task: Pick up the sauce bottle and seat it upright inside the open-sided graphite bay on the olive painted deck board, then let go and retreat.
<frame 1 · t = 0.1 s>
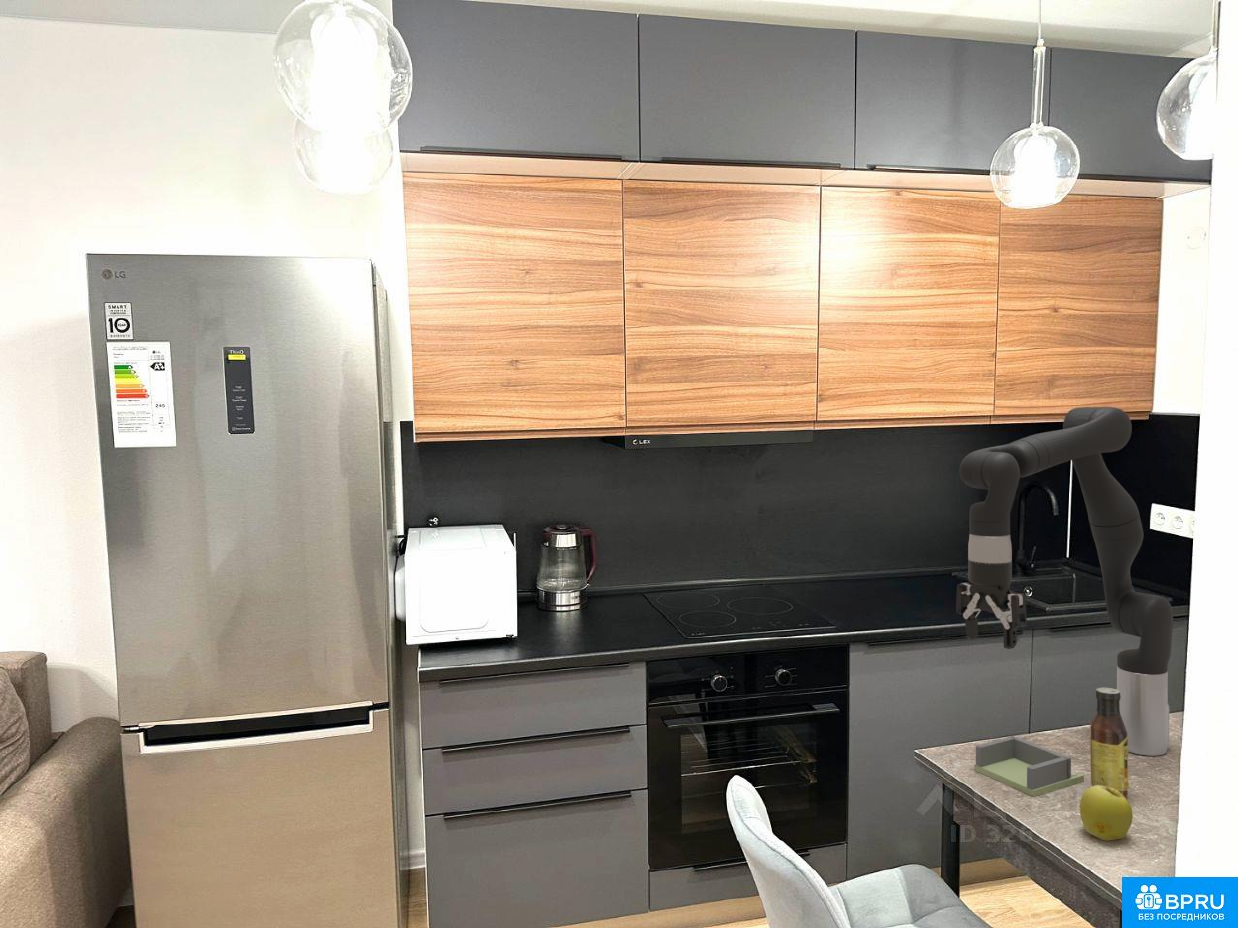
hand: (990, 642, 166), 29 cm above the table, fingers open, 8 cm apart
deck: (1028, 775, 175), on the table
apple: (1105, 836, 151), on the table
sauce bottle: (1109, 794, 166), on the table
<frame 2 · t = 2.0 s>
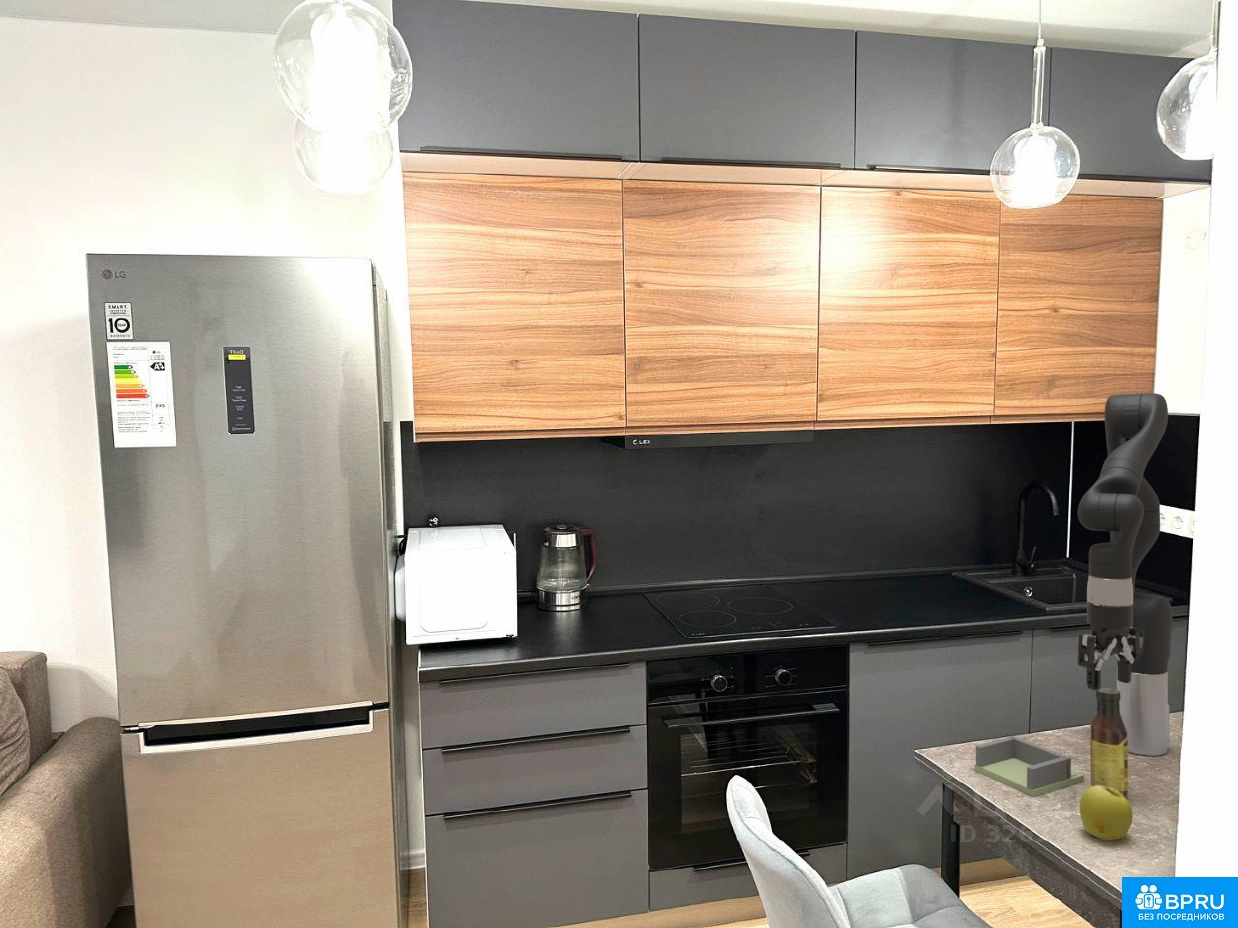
hand: (1109, 685, 165), 21 cm above the table, fingers open, 8 cm apart
nothing on the table moved.
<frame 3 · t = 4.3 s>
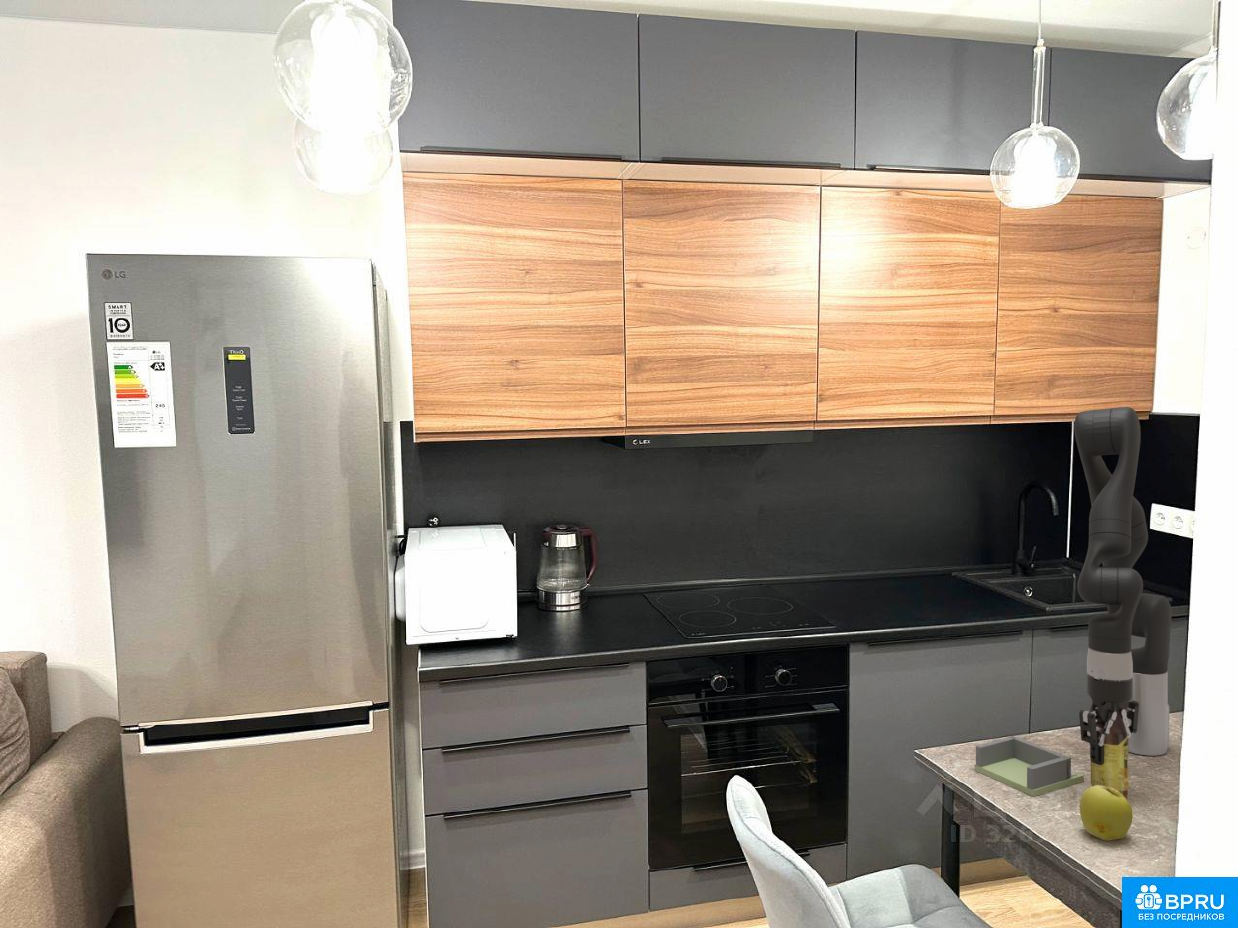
hand: (1109, 759, 166), 7 cm above the table, fingers closed on sauce bottle, 6 cm apart
sauce bottle: (1109, 794, 166), on the table, touching gripper
everything else where it was.
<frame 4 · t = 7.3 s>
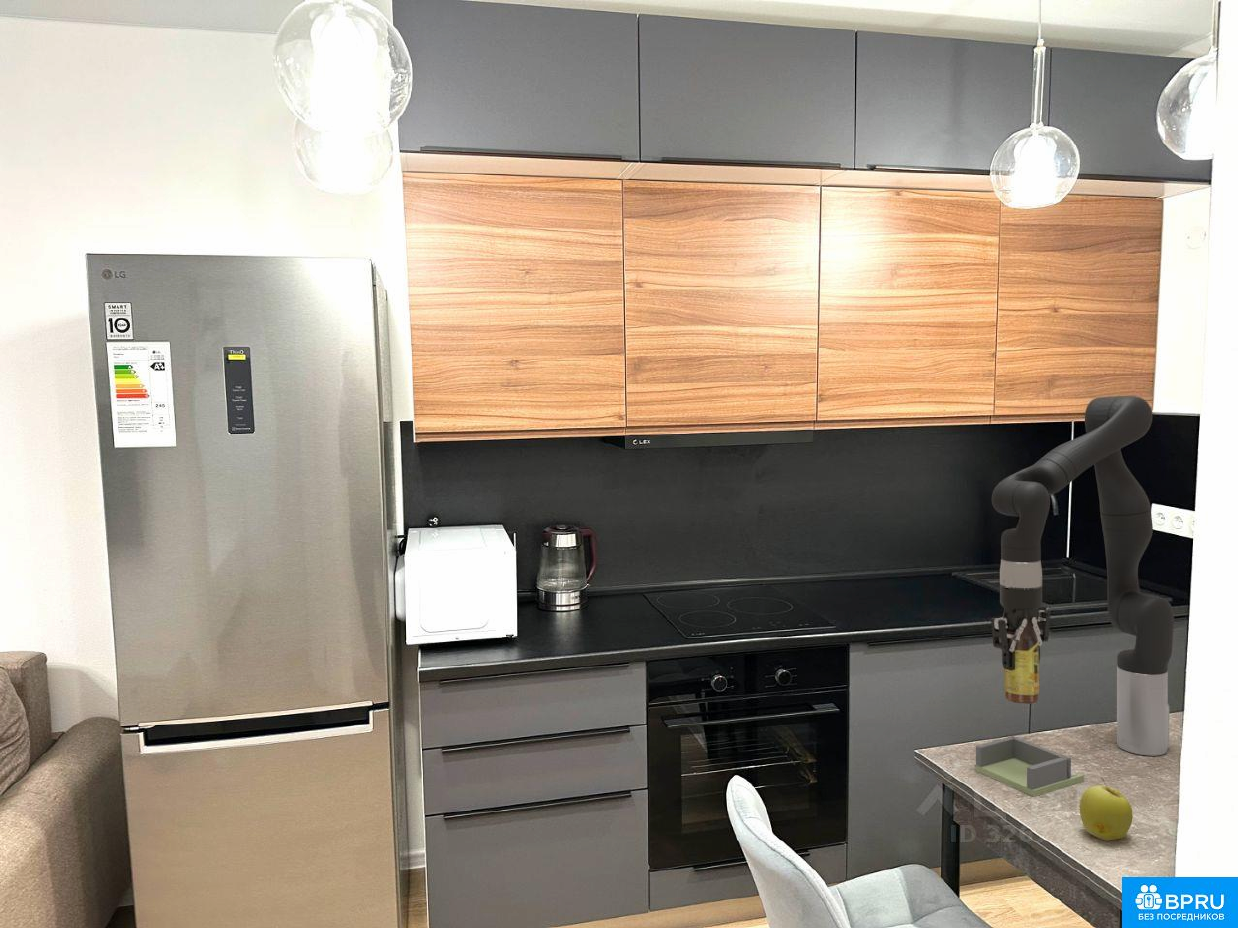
hand: (1021, 666, 173), 22 cm above the table, fingers closed on sauce bottle, 6 cm apart
sauce bottle: (1021, 700, 174), point 16 cm above the table, touching gripper
everything else where it was.
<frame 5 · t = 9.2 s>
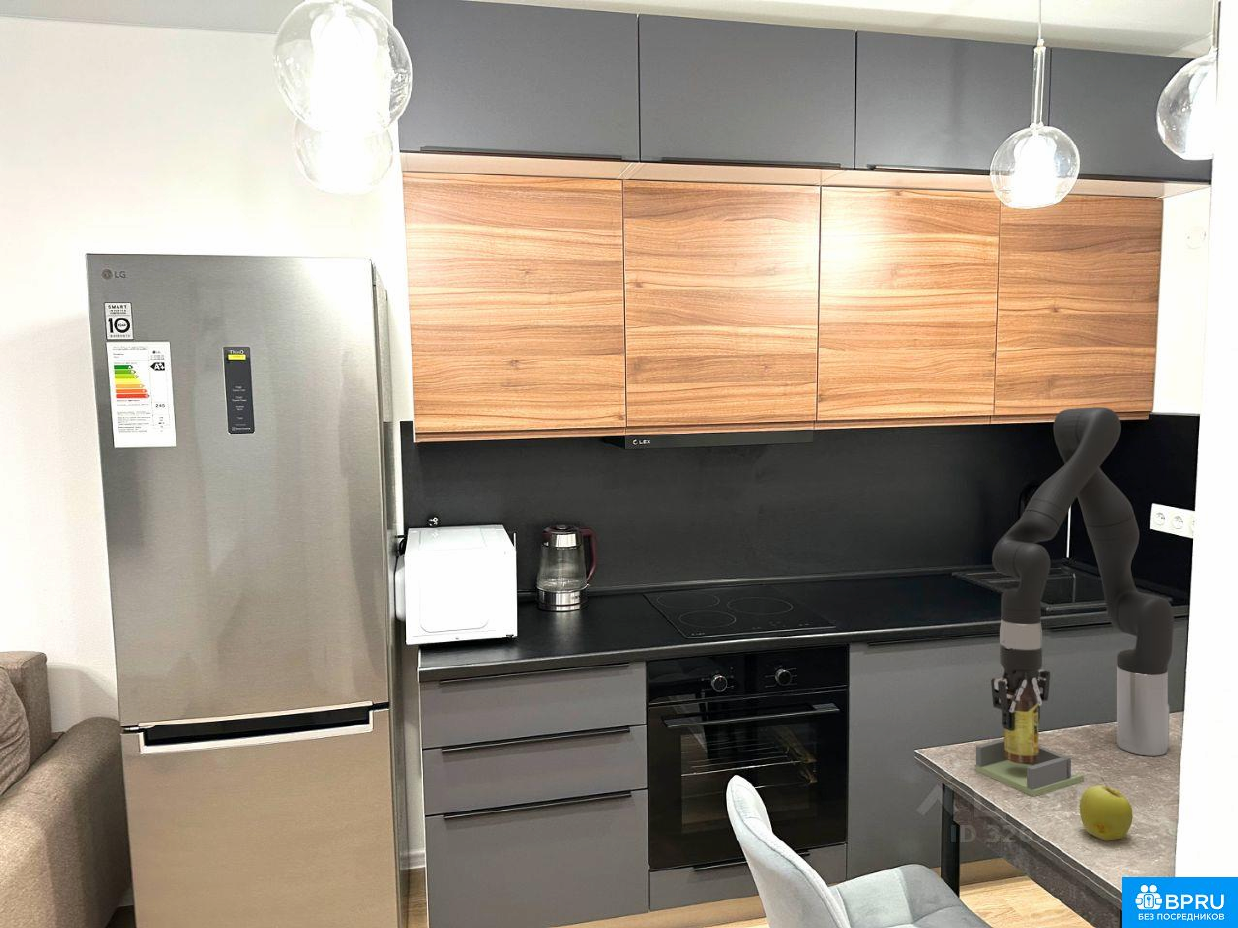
hand: (1021, 725, 174), 10 cm above the table, fingers closed on sauce bottle, 6 cm apart
sauce bottle: (1020, 759, 174), point 4 cm above the table, touching gripper
everything else where it was.
when the fingers open (9 cm above the table, at t = 10.5 s): sauce bottle drops 1 cm, resting on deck.
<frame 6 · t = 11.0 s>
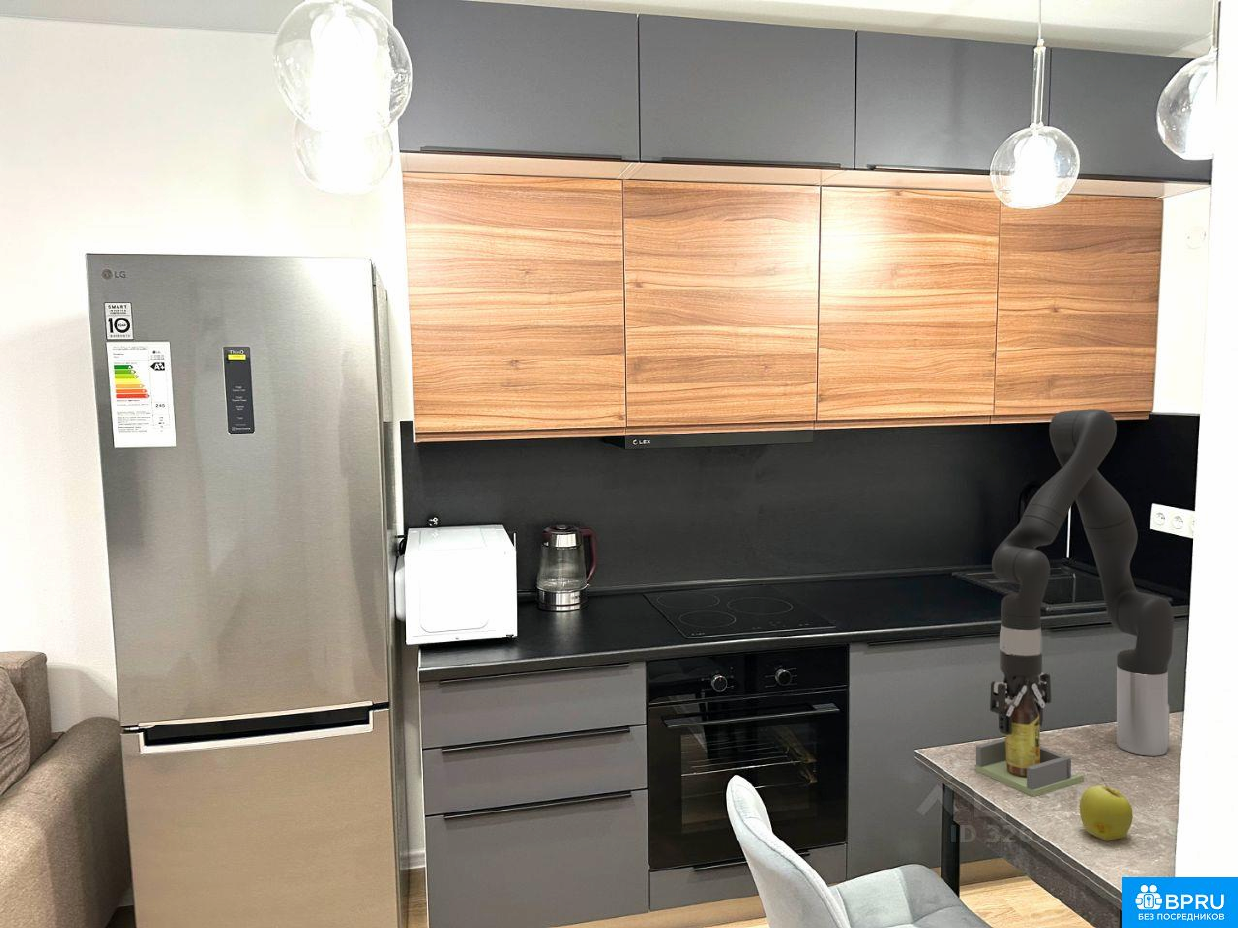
hand: (1021, 729, 174), 10 cm above the table, fingers open, 8 cm apart
sauce bottle: (1022, 772, 175), point 1 cm above the table, touching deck
everything else where it was.
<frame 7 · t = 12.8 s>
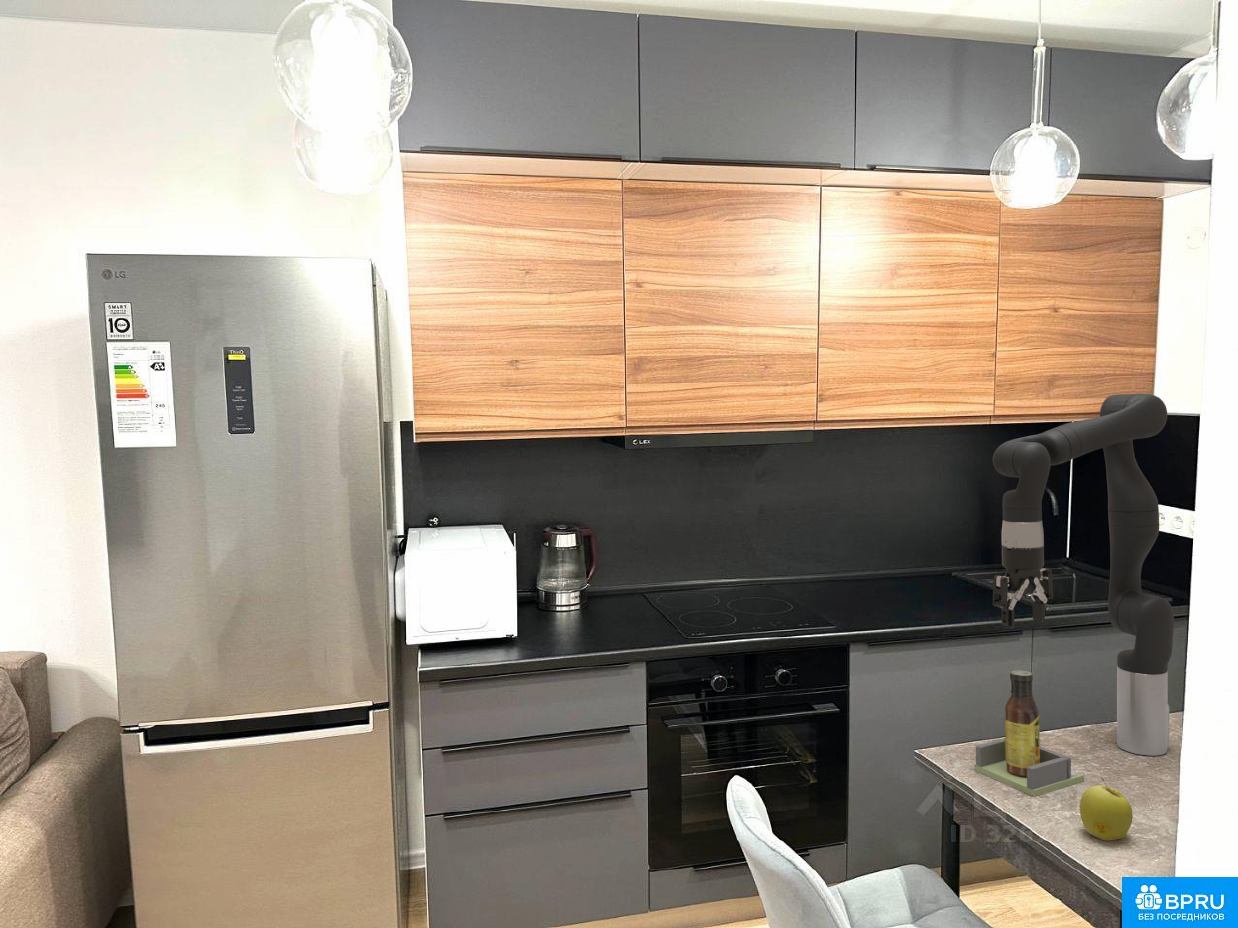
hand: (1023, 624, 174), 30 cm above the table, fingers open, 8 cm apart
nothing on the table moved.
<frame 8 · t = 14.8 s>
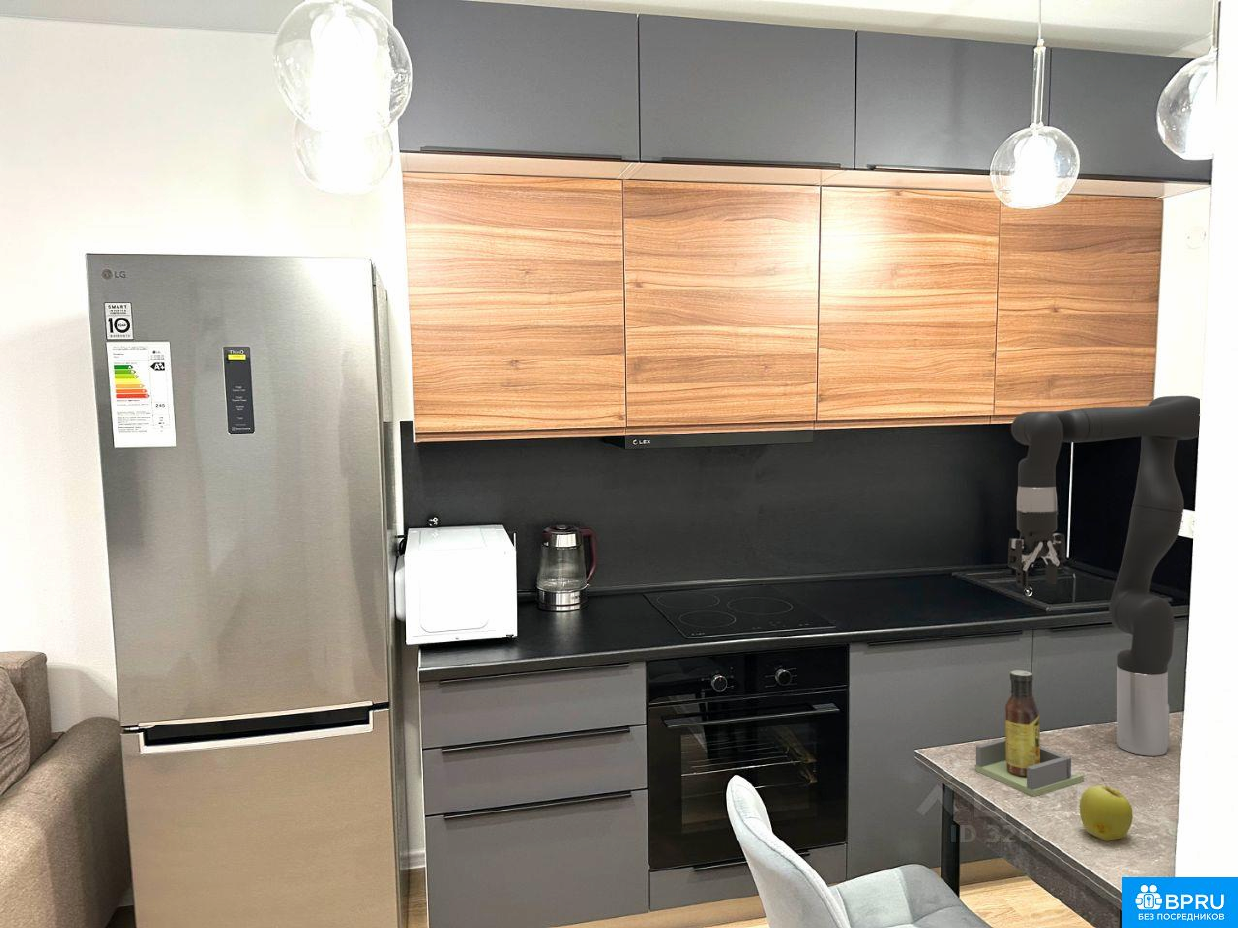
hand: (1037, 585, 183), 36 cm above the table, fingers open, 8 cm apart
nothing on the table moved.
at the end: sauce bottle inside the target area on the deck (0.8 cm from its centre), point 1.0 cm above the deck's base; sauce bottle tilted 0°; the gripper is holding nothing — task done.
